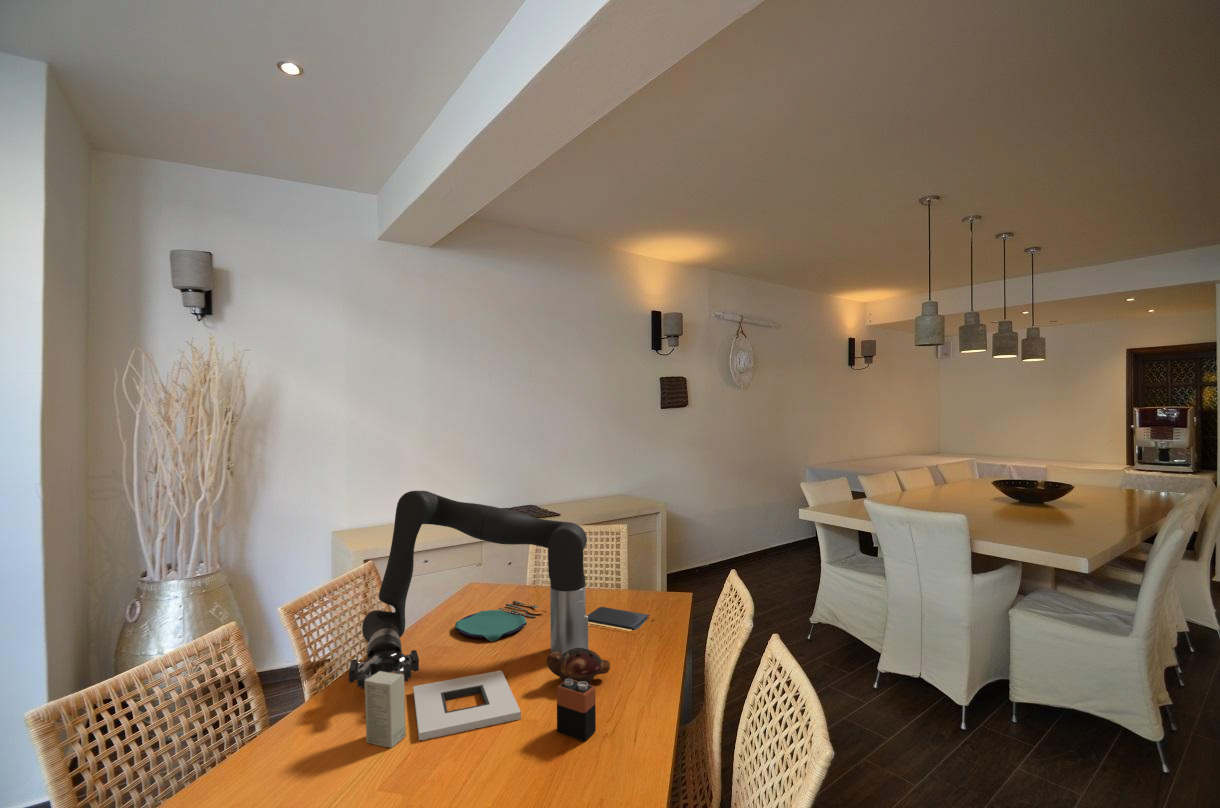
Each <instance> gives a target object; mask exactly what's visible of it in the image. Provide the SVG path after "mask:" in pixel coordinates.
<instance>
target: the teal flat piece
mask: <svg viewBox="0 0 1220 808" xmlns="http://www.w3.org/2000/svg"><path fill="white" fill-rule="evenodd" d="M513 603H517V604H521V605H528V606H531V607H534V608H537V607H538V606H539V605H536V604H534V605H532V604H530V605H529V604H526V603H523V602H520V601H516V600H513V601H512V604H511V603H505V607H508V606H509V608H513V607H514V609H512V610H511V609H506V608H503V607H499V608H498V609H488V610H480V611H478V612H476V613H472V614H469V615H466V616H464V617H463V618H461V619H459V620H457V621H456V622H455V625H454V626H455V627H454V630H455V631H458V632H459V633H460V634H463V635H465V636H468V637H474V638H483V639H485V638H486V640H488V641H489V642H491V641H495V642H496V641H498V640H499V639H500V638H501V637H504V636H508V635H511V634H513V633H516V632H518V631H520V630H521V629H523V628H524V626H527V619H526V616H530V617H536V615H531V614H534V613H531V612H530V613H531V614H527V613H528V610H529V609H525V608H524V607H520V606H519V605H517V604H516V605H515V604H513ZM517 608H518V609H517ZM499 609H500V610H499ZM501 609H502V610H501ZM515 609H517V610H515ZM520 609H523V610H522V611H524V610H527V611H526V612H527V613H523V612H519V610H520ZM506 610H507V611H506ZM510 611H511V612H510ZM512 612H514V613H512ZM515 613H518V614H515ZM519 614H521V615H519ZM522 615H526V616H522ZM530 617H529V618H530Z"/></svg>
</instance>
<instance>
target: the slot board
mask: <svg viewBox="0 0 1220 808" xmlns="http://www.w3.org/2000/svg"><path fill="white" fill-rule="evenodd" d="M412 689H413V690H412V691H413V692H412V693H414V694H413V701H414V702H415V703H414V709H415V710H414V711H415V719H416V720H415V721H416V725H417V736H418V742H420V740H422V741H425V740H430V738H431V739H435V738H440V737H444V736H449V735H452V734H453V735H454V734H457V733H462V732H463V733H464V732H468V731H472V730H476V728H477V729H481V728H486V727H490V725H491V726H495V725H499V724H503V723H509V722H513V721H518V720H521V719H522V712H521V709H520V706H519V704H518V702H517V700H516V698H515V696H514V694H513V691H512V689H511V688H510V684H509V683H508V680H507V679H506V676H505V674H504V672H503V670H496V671H490V672H485V673H480V674H473V675H468V676H463V677H457V678H451V679H447V680H441V681H435V682H429V683H424V684H420V685H414V686H412ZM479 694H480V696H481V699H482V702H483V703H482V704H479V705H473V706H466V707H464V708H458V709H453V710H449V711H448V707H447V702H446V701H447V700H453V699H458V698H464V697H468V696H474V695H479Z"/></svg>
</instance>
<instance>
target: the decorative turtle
mask: <svg viewBox="0 0 1220 808" xmlns="http://www.w3.org/2000/svg"><path fill="white" fill-rule="evenodd" d="M546 666H547V668H548V670H550V671H551V672H552V673H553V674H554V675H555V676H557V677H559V679H561V682H562V683H563V682H565V679H572V680H575V681H578V682H587V683H588V685H591V684H592V682H593V680H594V678H595V677H596V676H597V675H604V674H607V673H609V672H610V669H611V663H610V661H609V660H607V659H603V658H602V657H601V656H600V655H599V654H598V653H597V652H595V651H593V650H591V649H589V648H588V649H585V648H574V649H570V650H568V651H567V652H565V653H564V654H563V655H562V654H561V653H560V652H552V653H551V652H550V653H549V654H548V655H547V658H546Z"/></svg>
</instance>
